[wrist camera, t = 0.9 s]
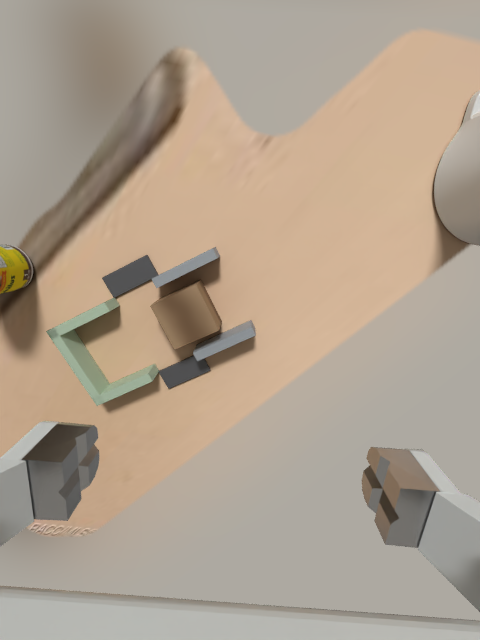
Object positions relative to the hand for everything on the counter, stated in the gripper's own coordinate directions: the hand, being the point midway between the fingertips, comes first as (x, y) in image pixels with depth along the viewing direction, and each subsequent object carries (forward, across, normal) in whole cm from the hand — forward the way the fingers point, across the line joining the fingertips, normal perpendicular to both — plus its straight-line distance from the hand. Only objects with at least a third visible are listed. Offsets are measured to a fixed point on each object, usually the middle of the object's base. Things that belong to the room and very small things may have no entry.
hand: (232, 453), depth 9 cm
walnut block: (+30, +6, +4) cm, 31 cm away
